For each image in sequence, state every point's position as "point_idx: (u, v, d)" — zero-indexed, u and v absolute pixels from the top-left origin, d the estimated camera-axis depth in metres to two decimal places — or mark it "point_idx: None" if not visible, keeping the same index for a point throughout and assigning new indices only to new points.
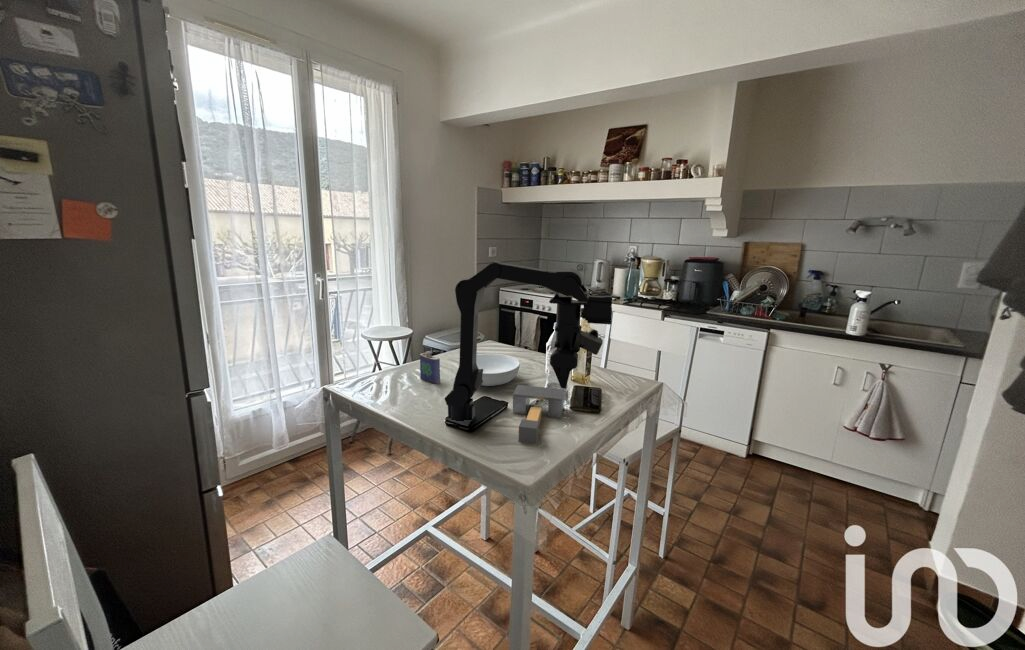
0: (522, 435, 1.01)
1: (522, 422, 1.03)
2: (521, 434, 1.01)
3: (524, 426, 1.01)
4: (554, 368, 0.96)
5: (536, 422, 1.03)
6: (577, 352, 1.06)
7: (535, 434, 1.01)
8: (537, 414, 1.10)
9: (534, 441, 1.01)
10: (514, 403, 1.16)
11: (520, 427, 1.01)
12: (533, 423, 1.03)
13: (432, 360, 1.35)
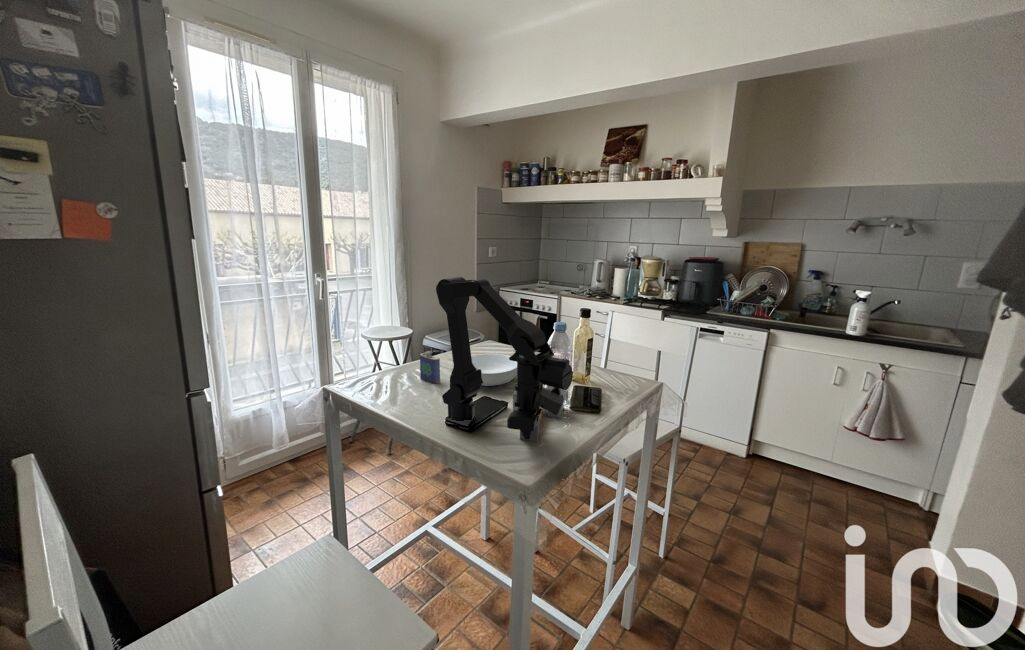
0: None
1: None
2: None
3: None
4: None
5: None
6: None
7: (536, 431, 1.02)
8: None
9: (535, 438, 1.02)
10: (514, 403, 1.16)
11: None
12: None
13: (432, 360, 1.35)
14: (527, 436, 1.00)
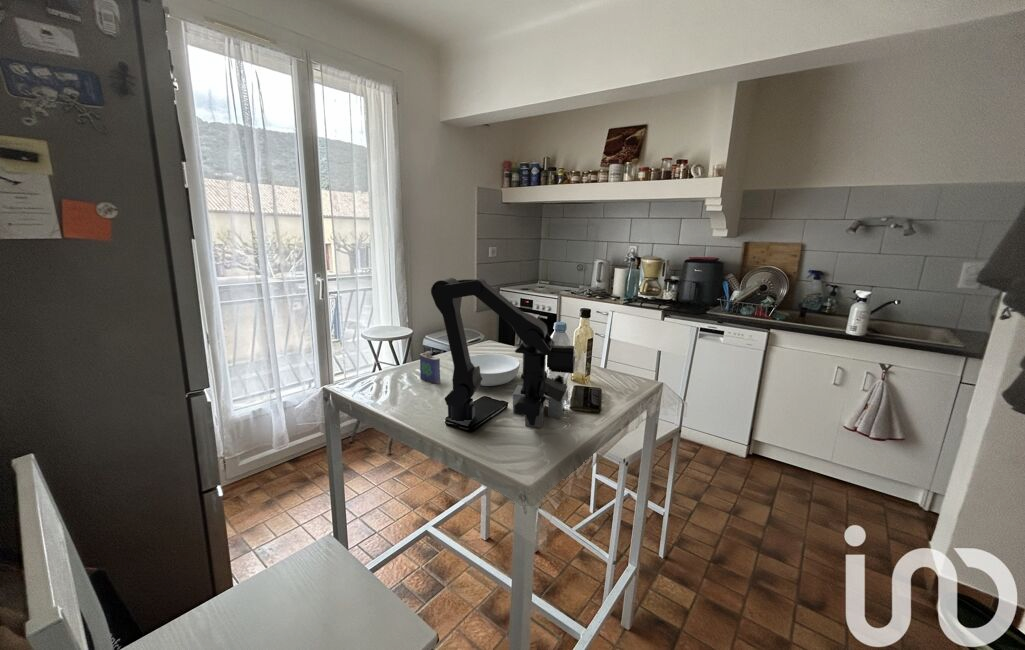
0: None
1: None
2: None
3: None
4: None
5: None
6: (542, 403, 1.06)
7: (540, 418, 1.09)
8: None
9: (540, 425, 1.09)
10: (514, 403, 1.16)
11: None
12: None
13: (432, 360, 1.35)
14: (532, 422, 1.07)
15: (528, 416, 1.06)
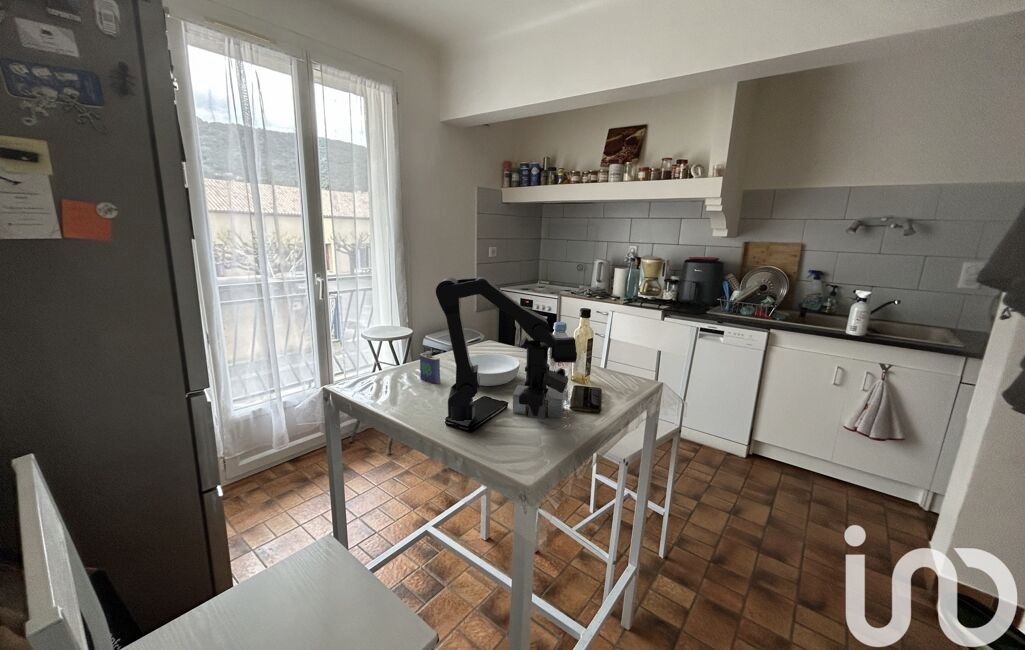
0: None
1: None
2: (530, 409, 1.15)
3: None
4: None
5: None
6: (545, 394, 1.11)
7: (543, 409, 1.14)
8: None
9: (542, 415, 1.14)
10: (514, 403, 1.16)
11: None
12: None
13: (432, 360, 1.35)
14: (535, 413, 1.12)
15: (531, 407, 1.11)
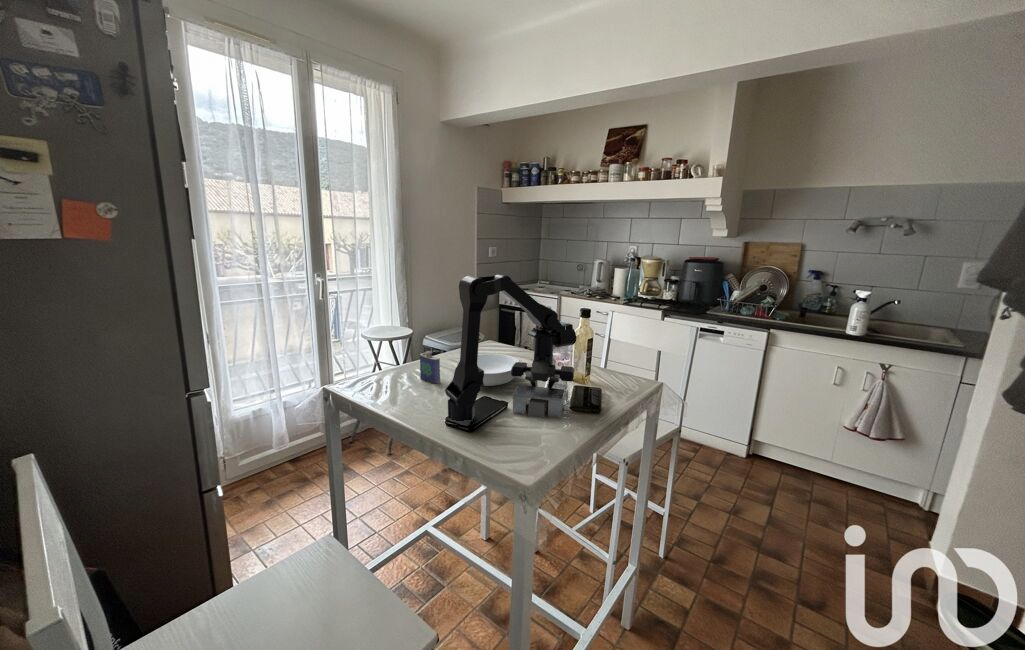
0: (532, 410, 1.15)
1: (531, 399, 1.16)
2: (530, 409, 1.15)
3: (533, 402, 1.14)
4: None
5: None
6: None
7: (543, 409, 1.14)
8: None
9: (542, 415, 1.14)
10: (514, 403, 1.16)
11: (530, 403, 1.14)
12: (541, 400, 1.16)
13: (432, 360, 1.35)
14: None
15: None
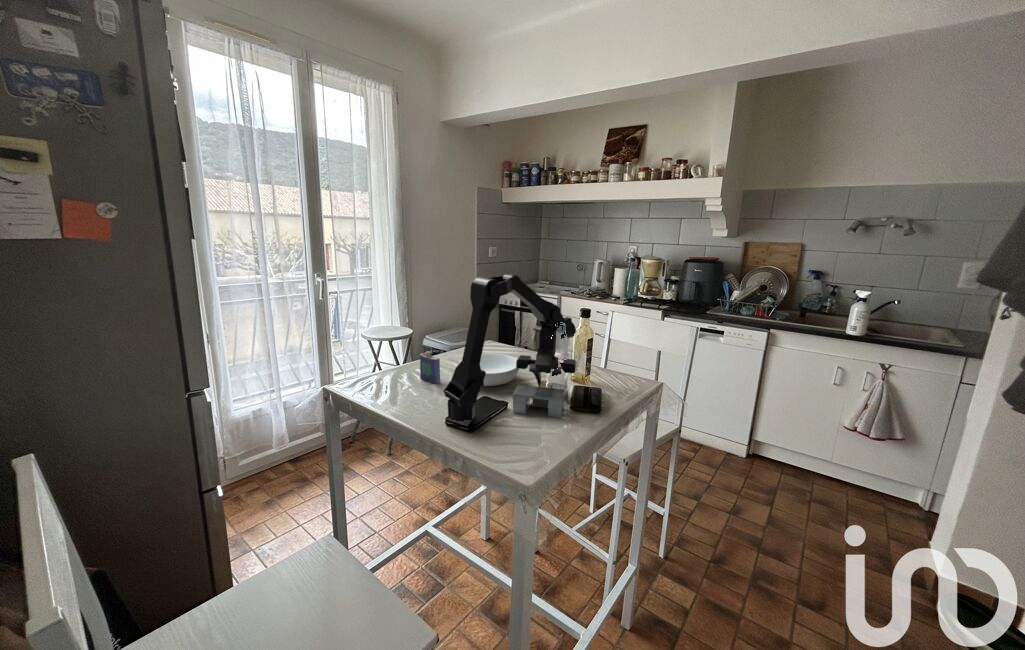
0: (536, 401, 1.21)
1: None
2: (534, 400, 1.21)
3: None
4: None
5: None
6: None
7: None
8: None
9: (546, 405, 1.21)
10: (514, 403, 1.16)
11: None
12: None
13: (432, 360, 1.35)
14: None
15: None
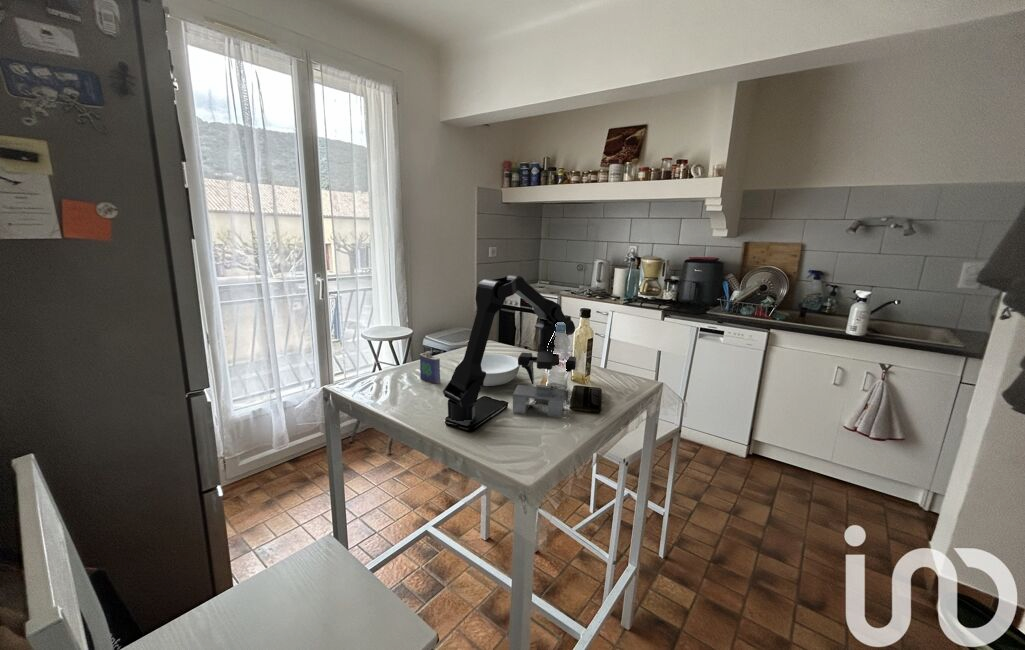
0: None
1: (537, 386, 1.26)
2: None
3: None
4: None
5: (548, 386, 1.26)
6: None
7: None
8: None
9: (547, 401, 1.24)
10: (514, 403, 1.16)
11: None
12: (546, 387, 1.25)
13: (432, 360, 1.35)
14: None
15: None
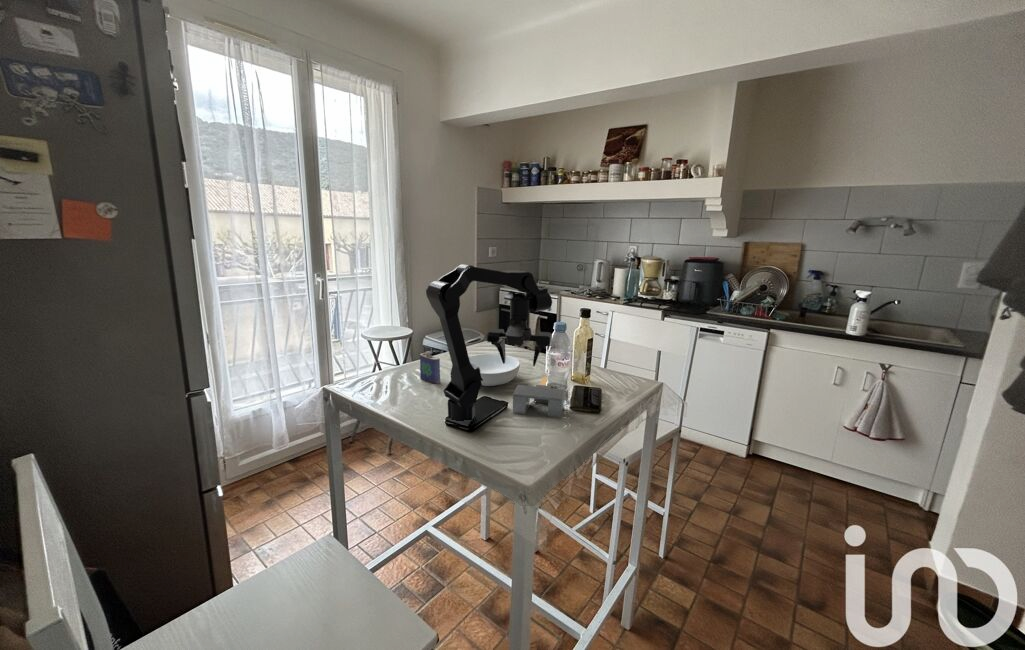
0: None
1: (537, 386, 1.26)
2: None
3: None
4: None
5: (548, 386, 1.26)
6: (535, 348, 1.17)
7: None
8: None
9: (547, 401, 1.24)
10: (514, 403, 1.16)
11: None
12: (546, 387, 1.25)
13: (432, 360, 1.35)
14: None
15: None
